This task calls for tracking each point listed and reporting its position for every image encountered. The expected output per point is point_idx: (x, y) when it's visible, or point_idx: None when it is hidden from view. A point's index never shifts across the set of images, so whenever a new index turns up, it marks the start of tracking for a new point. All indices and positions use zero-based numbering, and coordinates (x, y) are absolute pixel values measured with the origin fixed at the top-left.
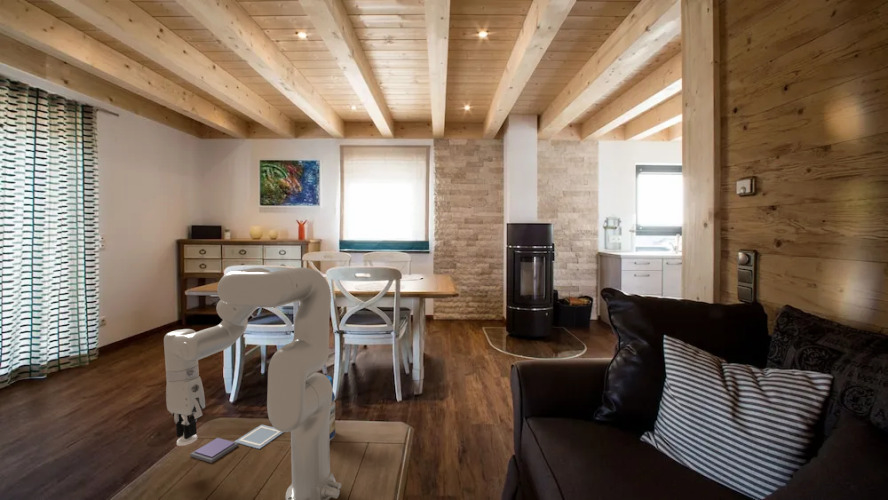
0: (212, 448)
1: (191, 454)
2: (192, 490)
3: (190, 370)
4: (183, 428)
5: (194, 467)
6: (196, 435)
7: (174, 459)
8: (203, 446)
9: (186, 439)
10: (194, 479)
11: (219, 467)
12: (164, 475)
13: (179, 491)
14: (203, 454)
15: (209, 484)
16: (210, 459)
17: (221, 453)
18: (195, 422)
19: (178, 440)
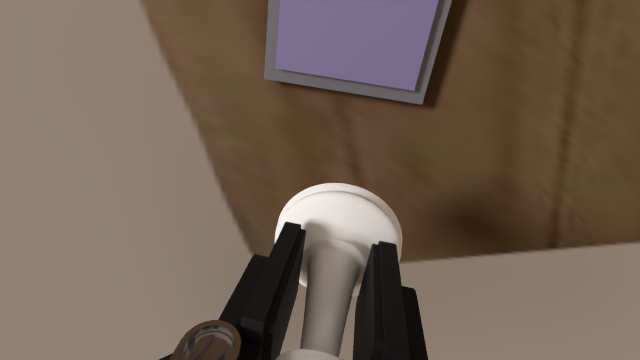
0: (356, 18)
1: (272, 79)
2: (462, 249)
3: None
4: (289, 306)
5: (359, 141)
6: (382, 218)
7: (216, 110)
8: (284, 12)
9: (361, 282)
10: (423, 203)
11: (484, 121)
12: (282, 200)
13: (416, 257)
14: (348, 79)
15: (510, 218)
16: (414, 102)
17: (439, 39)
18: (403, 332)
19: (303, 281)
